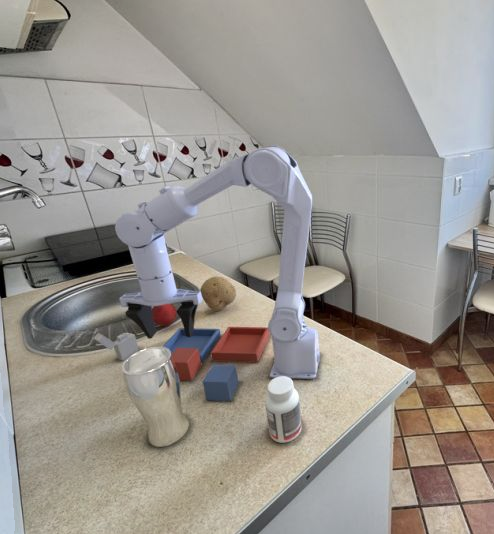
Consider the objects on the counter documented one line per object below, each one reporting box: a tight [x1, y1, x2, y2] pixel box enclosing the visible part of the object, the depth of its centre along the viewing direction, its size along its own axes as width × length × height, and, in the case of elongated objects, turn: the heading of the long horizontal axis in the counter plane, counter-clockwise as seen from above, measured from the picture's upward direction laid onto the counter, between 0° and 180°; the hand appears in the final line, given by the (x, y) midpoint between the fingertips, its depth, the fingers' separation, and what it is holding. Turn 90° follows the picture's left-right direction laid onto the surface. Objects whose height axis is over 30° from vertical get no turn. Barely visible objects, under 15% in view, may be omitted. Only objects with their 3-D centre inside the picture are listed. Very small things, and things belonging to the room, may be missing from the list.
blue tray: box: [162, 327, 222, 365], centre depth 75 cm, size 10×10×2 cm
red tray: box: [210, 326, 271, 363], centre depth 75 cm, size 10×10×2 cm
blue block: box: [202, 364, 240, 402], centre depth 61 cm, size 5×5×5 cm
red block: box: [172, 348, 203, 381], centre depth 67 cm, size 5×5×5 cm
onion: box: [152, 304, 178, 327], centre depth 83 cm, size 6×6×8 cm
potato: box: [199, 276, 237, 312], centre depth 90 cm, size 9×9×10 cm
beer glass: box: [121, 345, 190, 448], centre depth 51 cm, size 7×7×15 cm
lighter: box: [92, 332, 140, 361], centre depth 71 cm, size 7×2×8 cm, turn 154°
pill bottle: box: [264, 376, 302, 444], centre depth 52 cm, size 5×5×10 cm
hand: (171, 334), depth 65 cm, fingers open, 7 cm apart
